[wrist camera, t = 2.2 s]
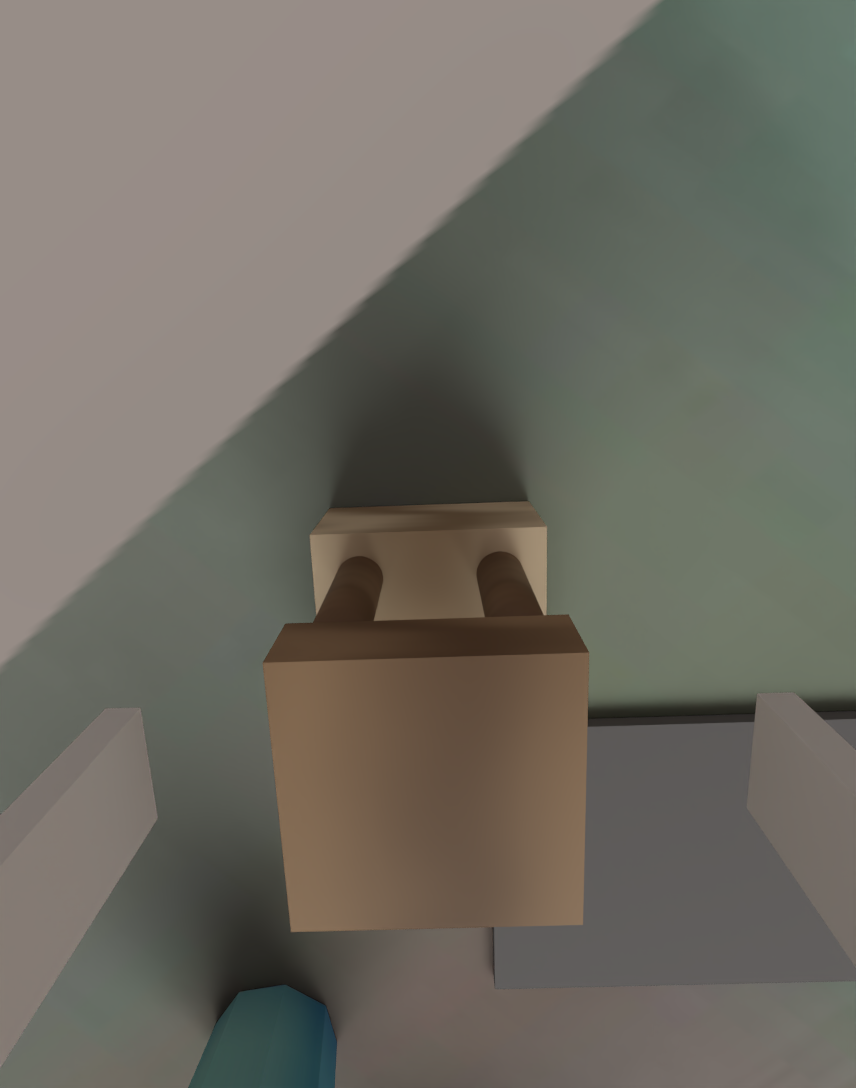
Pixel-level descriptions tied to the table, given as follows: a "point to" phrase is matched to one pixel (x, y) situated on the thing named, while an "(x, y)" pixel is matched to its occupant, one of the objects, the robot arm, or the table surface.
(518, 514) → the oak block
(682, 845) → the mat
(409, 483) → the table surface
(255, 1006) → the cup
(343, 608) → the stool
